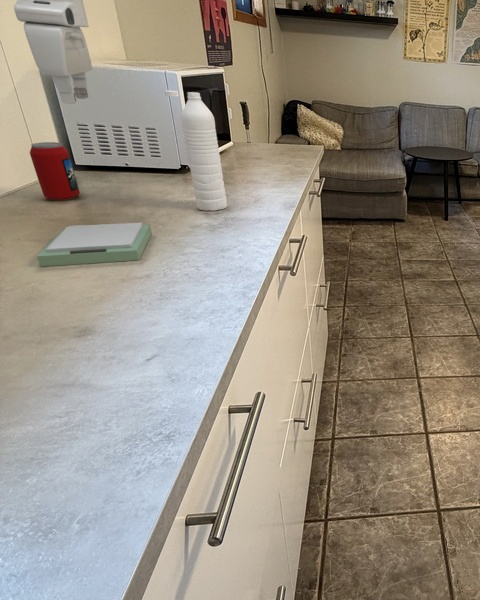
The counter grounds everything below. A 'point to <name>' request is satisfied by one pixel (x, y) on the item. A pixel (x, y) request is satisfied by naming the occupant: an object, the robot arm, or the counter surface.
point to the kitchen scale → (96, 244)
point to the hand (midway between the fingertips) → (76, 100)
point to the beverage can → (54, 171)
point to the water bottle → (202, 153)
